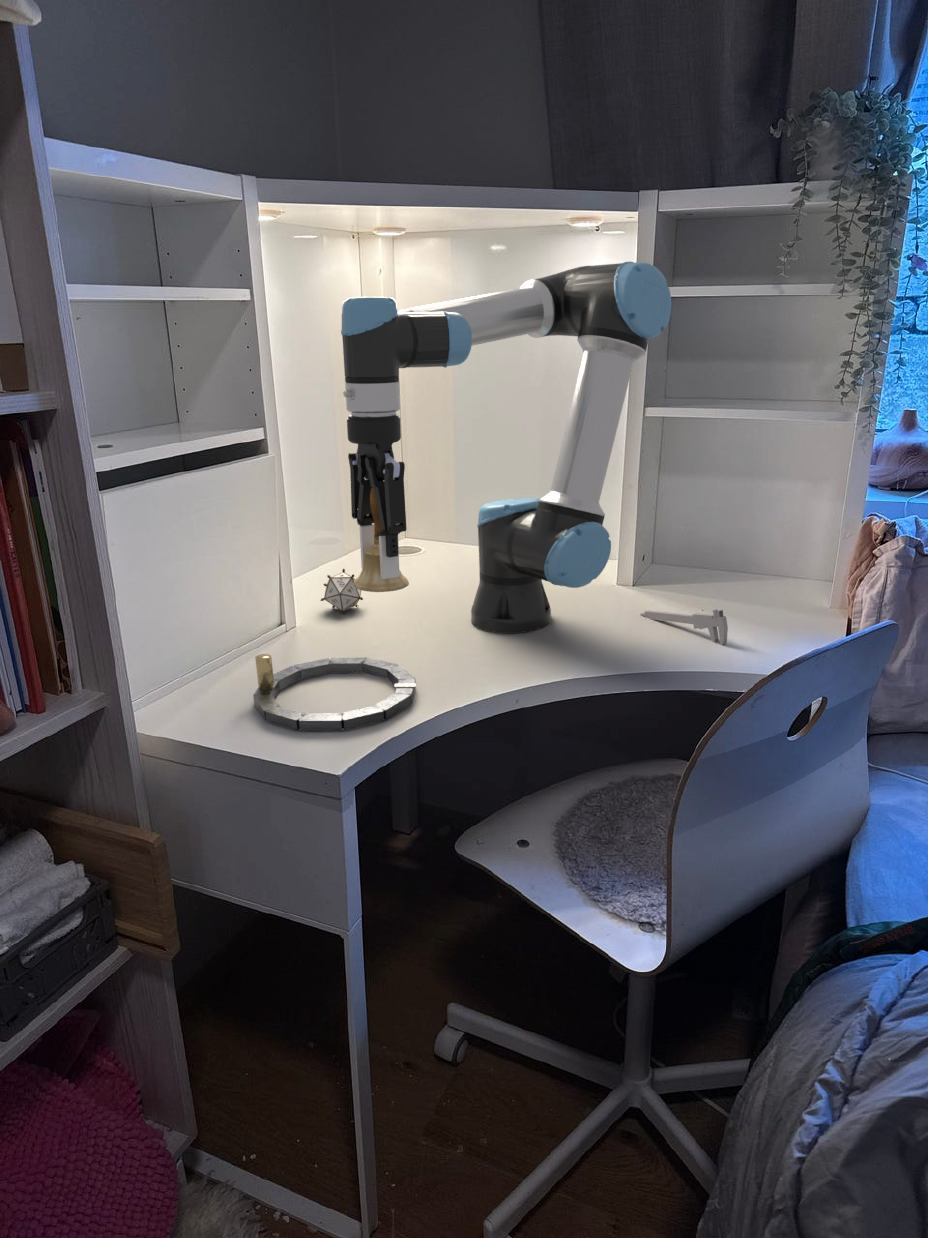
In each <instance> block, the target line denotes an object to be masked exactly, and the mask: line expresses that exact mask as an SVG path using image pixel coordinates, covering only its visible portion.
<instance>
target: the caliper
mask: <svg viewBox="0 0 928 1238" xmlns="http://www.w3.org/2000/svg"><path fill="white" fill-rule="evenodd" d="M712 613H713V614H712ZM712 613H711V614H710V613H709V614H707V613H699V612H698V613H697V612H696V613H693V614H686V613H676V612H668V611H659V610H649V609H648V610H645V611H644V612H642V613H640V614H639V615H640V616H641V617H645V618H647V619H648V620H655V621H662V622H663V621H664V622H671V623H672V622H673V623H680V624H688V625H692V626H693V629H698V630H705V629H707V630H708V632H709V636H710V638H711V641H712V643H714V644H715V643H717V642H718V643H719V644H720V645H721V646H722V645H726V644H727V642H728V630H729V629H728V628H729V627H728V621H727V615H726V616H725V615H724V609H719V610H718V609H713V610H712Z"/></svg>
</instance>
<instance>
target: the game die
mask: <svg viewBox="0 0 928 1238" xmlns="http://www.w3.org/2000/svg"><path fill="white" fill-rule="evenodd" d="M326 576H327V578H328V581H327V583H323V586H324V587H325V591H324V597H322V598H320V601H321V602H323V601H326V602H327V603H328V604H331V605H332V606H331V607H332V609H335V608H336V609H338V610H339V611H341V615H344V614H345V611H347V610H350V609H351V608H353V607H355V608H356V607H357V606H358V607H359V605H358V603H359V601H360V600H361V601H363V600H364V597H362V596H361V593H362V590H359V589H356V588H355V587H354V586H353V583H354V581H355V580H356V579H357V578H356V579H355V574H354V573H353V574H351V575H350V574H347V573H346V569H345V568H342V572H340V573H338V574H336V575H333V576H331V575H330V574H327V575H326Z"/></svg>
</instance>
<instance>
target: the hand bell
mask: <svg viewBox="0 0 928 1238" xmlns="http://www.w3.org/2000/svg"><path fill="white" fill-rule="evenodd" d="M370 507H371V512H372V515H373V518H374V523H373V525H374V534H375V535H374V545H373V546H371V547H369V548H368V549H366V551H365V559H364V565H363V569H362V568H361V570H360V571H361V572H360V573H359V575H358V576H357V578H356V580H355V581H354V583H353V586H354V587H355V588H356V589H359V590H361V591H362V592H363V591H364V592H370V593H385V592H386V593H387V592H388V593H389V592H395V591H400V590H403V589H405V588H406V587H409V584H410V582H409V580H408V579H407V577H406V576H404V575H403V573H402V571H401V569H400V568H399V573H400V577H395V578H389V579H381V573H380V550H379V536H378V534H377V533H378V532H382V530H381V524H380V518H379V512H378V506H377V500H376V494H375V489H374V488H372V489H371V493H370Z"/></svg>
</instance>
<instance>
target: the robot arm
mask: <svg viewBox="0 0 928 1238" xmlns="http://www.w3.org/2000/svg"><path fill="white" fill-rule="evenodd" d="M666 279H667V278H665V276H664V274H663V273H662V272H661V271H660V270H659V268H658V267H656V266H654V265H653V264H651V263H647V262H634V261H624V262H622V263H621V262H620V263H619V262H618V263H610V264H609V263H607V264H599V265H598V264H596V265H585V266H584V265H583V266H578V267H574V268H570V269H567V270H565V271H561V272H558V273H554V274H549V275H547V276H542V277H539V278H533V279H529V280H527V281H525V282H524V283H523V284H522V285H521V286H520V287H519V288H514V289H508V290H503V291H497V292H492V293H487V294H481V295H477V296H475V295H474V296H470V297H464V298H459V299H454V300H449V301H448V300H447V301H443V302H442V301H441V302H437V303H432V304H431V303H430V304H426V305H421V306H415V307H410V308H406V309H400V310H399V309H398V306H397V302H396V299H395V298H394V297H392V296H356V297H355V296H354V297H348V298H346V299H345V300H344V301H343V302H342V306H341V307H342V308H341V311H342V312H341V330H340V334H341V337H342V338H341V339H342V353H343V354H342V355H343V369H344V384H345V386H344V387H345V390H343V394H342V396H343V397H344V398H345V401H346V402H345V404H346V410H347V412H349V413H350V415H348V416H347V418H346V427H347V429H346V430H347V431H346V432H347V440H348V441H349V443H351V444H356V445H357V449H356V452H355V451H354V452H348V455H347V457H348V464H349V469H350V471H349V472H350V499H351V500H350V501H351V502H350V503H351V504H350V505H351V517H352V519H353V520H354V519H356V523H357V525H358V526H359V540H360V542H359V543H360V545H359V546H360V560H361V561H360V562H361V570H362V569H363V565H364V559H365V551H366V549H368V548H369V547H371V546H373V545H374V535H375V534H374V518H373V515H372V512H371V507H370V493H371V489H372V488H374V489H375V494H376V500H377V506H378V512H379V518H380V524H381V530H382V532H378V533H377V534H378V536H379V550H380V573H381V579H389V578H395V577H400V573H399V569H400V553H399V552H400V551H399V549H400V548H399V535H400V533H403V532H406V531H407V514H406V512H407V511H406V497H405V481H404V480H405V479H404V477H405V468H406V465H405V462H404V461H397V460H396V459H395V454H394V451H393V445H394V443H397V442H399V441H400V440H401V438H402V433H401V432H402V431H401V429H402V428H401V427H402V426H401V416H399V414H397V412H399V411H400V410H401V400H400V399H401V395H400V376H399V375H400V369H407V368H408V369H409V368H437V367H438V368H439V367H440V368H444V369H445V368H448V367H453V366H459V365H461V364H463V363H464V362H465V361H466V360H467V359H468V358H469V355H470V353H471V350H472V346H477V345H481V344H486V343H492V342H496V341H501V340H505V339H510V338H514V337H519V336H520V337H521V336H525V335H528V336H530V337H531V338H536V339H538V338H544V337H551V336H552V337H553V336H563V337H564V336H565V337H577V339H576V340H577V343H578V344H579V346H580V348H581V349H582V357H581V360H580V366H579V370H578V373H577V377H576V378H577V379H576V382H575V385H574V386H575V387H574V391H573V393H572V399H571V402H570V408H569V411H568V415H567V419H566V423H565V427H564V431H563V435H562V441H561V444H560V448H559V453H558V457H557V461H556V464H555V468H554V472H553V473H554V474H553V477H552V481H551V486H550V489H549V492H547V494H545V495H544V496H542V497H541V498H536V497H535V498H534V497H521V498H510V499H502V500H495V501H491V502H487V503H484V504H483V505H482V506H481V507H480V508H479V510H478V519H477V521H478V522H477V534H478V535H477V537H478V538H477V539H478V541H477V542H478V563H479V564H478V566H479V583H478V586H477V590H476V592H475V597H474V600H473V603H472V606H471V609H470V617H471V618H470V619H471V623H472V625H474V626H475V627H477V629H481V630H484V631H486V632H487V631H488V632H492V633H493V632H494V633H503V634H515V633H517V634H518V633H528V632H533V631H537V630H539V629H540V630H541V629H543V628H545V627H546V626H547V625H549V624H550V623H551V622H552V621H551V620H552V612H551V611H552V608H551V606H550V602H549V600H548V599H549V598H548V597H547V594H546V590H545V587H544V584H543V581H546V582H549V583H550V584H552V585H554V586H560V587H565V588H571V589H572V588H573V589H578V588H581V587H585V586H587V585H589V584H591V583H592V582H593V580H596V579H597V578H598V577H599V576H600V575H601V574H602V572H603V571H604V570H605V567H606V566H607V563H608V562H609V559H610V556H611V551H612V541H611V539H610V534H609V531H608V530H607V529H606V528H605V526H604V525H603V524H604V521H605V516H606V514H605V512H604V510H603V508H602V507H601V505H600V500H601V495H602V491H603V488H604V484H605V479H606V475H607V471H608V467H609V463H610V460H611V455H612V452H613V447H614V445H615V444H614V443H615V440H616V439H615V438H616V435H617V431H618V427H619V424H620V419H621V415H622V411H623V408H624V407H623V406H624V404H625V403H624V402H625V399H626V394H627V390H628V386H629V383H630V379H631V376H632V375H631V374H632V371H633V366H634V363H636V362H637V361H638V360H639V359H641V358H643V357H644V356H645V355H646V352H647V348H648V345H649V341H650V339H654V338H656V337H658V336H659V335H661V333H662V331H665V329H666V327H667V326H668V324H669V321H670V318H671V314H672V296H671V289H670V287H669V285H668V283H667V280H666Z"/></svg>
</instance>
